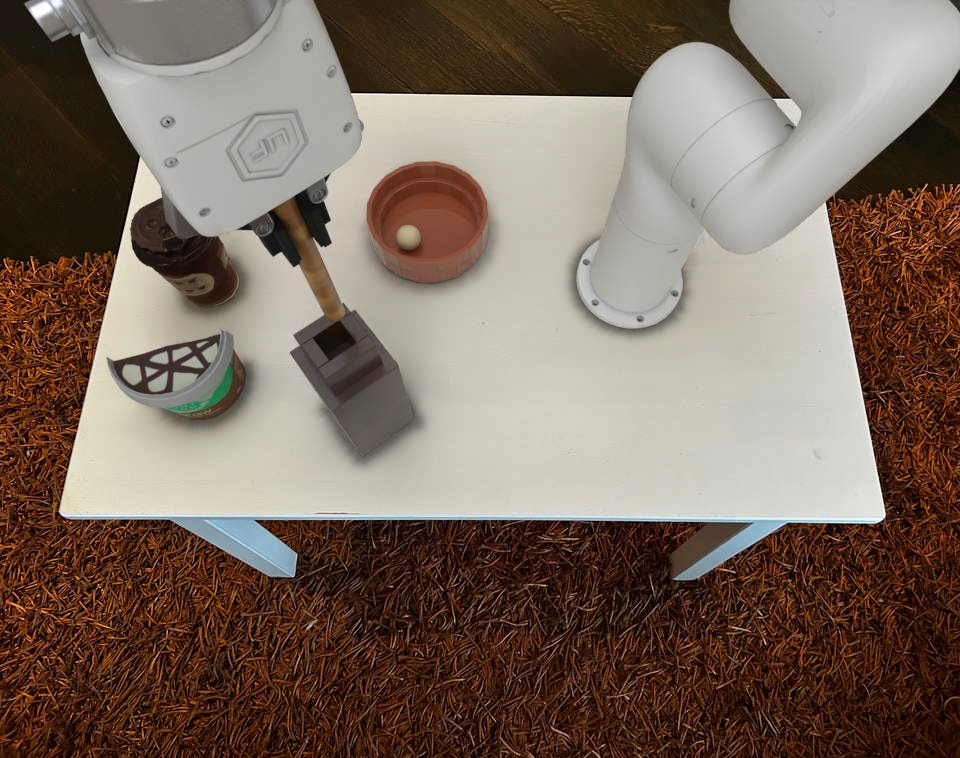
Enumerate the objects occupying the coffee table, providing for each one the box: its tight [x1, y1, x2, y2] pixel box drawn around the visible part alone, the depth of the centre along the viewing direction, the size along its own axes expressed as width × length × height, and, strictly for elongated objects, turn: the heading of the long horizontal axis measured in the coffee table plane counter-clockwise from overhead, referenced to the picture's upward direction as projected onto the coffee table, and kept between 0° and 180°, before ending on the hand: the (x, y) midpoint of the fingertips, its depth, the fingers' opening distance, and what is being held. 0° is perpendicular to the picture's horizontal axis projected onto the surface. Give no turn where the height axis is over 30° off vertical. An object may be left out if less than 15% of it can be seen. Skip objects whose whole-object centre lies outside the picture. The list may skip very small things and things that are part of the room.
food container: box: [105, 327, 246, 421], centre depth 68 cm, size 12×6×10 cm, turn 106°
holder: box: [289, 302, 415, 458], centre depth 63 cm, size 7×7×20 cm
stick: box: [271, 196, 345, 322], centre depth 44 cm, size 2×2×16 cm
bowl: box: [365, 160, 489, 283], centre depth 78 cm, size 14×14×5 cm
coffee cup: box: [129, 197, 240, 308], centre depth 72 cm, size 9×8×13 cm
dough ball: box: [396, 225, 421, 250], centre depth 78 cm, size 3×3×3 cm
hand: (300, 239), depth 42 cm, fingers closed on stick, 1 cm apart
